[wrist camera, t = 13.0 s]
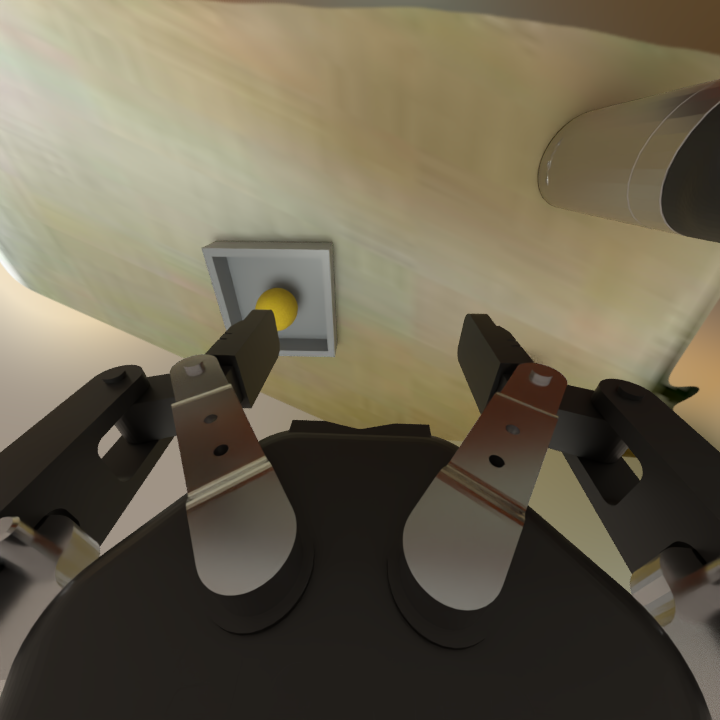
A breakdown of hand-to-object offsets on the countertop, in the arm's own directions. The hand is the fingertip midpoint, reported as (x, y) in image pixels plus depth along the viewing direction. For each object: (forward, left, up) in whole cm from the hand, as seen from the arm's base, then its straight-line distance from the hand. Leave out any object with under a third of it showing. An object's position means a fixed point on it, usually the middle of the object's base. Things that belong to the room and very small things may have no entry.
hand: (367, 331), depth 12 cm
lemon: (+13, +11, -30) cm, 34 cm away
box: (+13, +11, -30) cm, 34 cm away
